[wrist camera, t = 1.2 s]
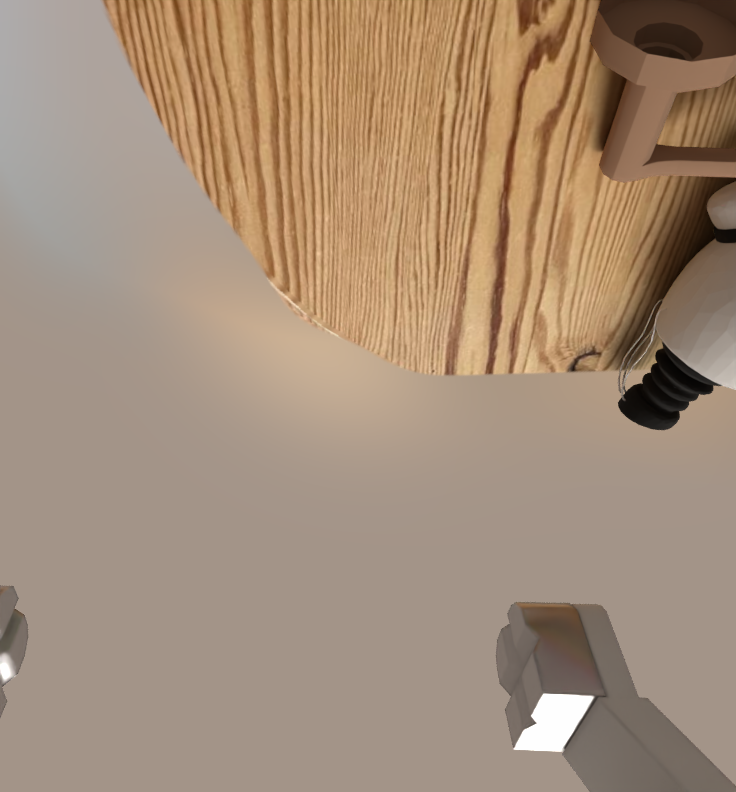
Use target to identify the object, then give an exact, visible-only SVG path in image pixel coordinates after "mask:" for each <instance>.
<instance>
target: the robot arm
mask: <svg viewBox="0 0 736 792" xmlns="http://www.w3.org/2000/svg"><path fill="white" fill-rule="evenodd" d="M17 601H18V596H17V594H16V591H15V589H14V586H0V717H1V715H2V712H3V710H4V707H5V705H6V703H7V699H6V697H5V694H4V691H3V688H2V687H3V686H4V685H5V684H6V683H7V682H9V681H10V680H11V679H12V678H13V677H14V676H15V675H17V674H18V672H19V669H20V667H21V664H22V661H23V659H24V656H25V651H26V645H27V640H28V625H27V621H26V619H25V615H24V614H22V613H21V612H19V611H18V610H16V609H15V606H16V603H17ZM508 619H509V623H510V624H508V625H507V626H505V627H504V628H502V629H501V631H500V634H499V637H498V640H497V649H496V662H497V671H498V677H499V682H500V684H501V686H502V687H503V688H504V689H505V690H506V691H507V692H508V693H509V695H510V696H511V698H510V700H509V702H508V704H507V707H506V709H505V711H506V716H507V721H508V725H509V731H510V735H511V740H512V745H513V749H515V750H541V751H564V752H563V756H564V757H565V759H566V760H567V761H568V762H569V764H570V765H571V767H572V768H573V770H574V771H575V772H576V774H577V775H578V776H579V778H580V779H581V780H582V782H583V783H584V785H585V786H586V787H587V789H588V790H589V791H590V792H736V786H735V785H734V784H733V783H732V782H731V781H730V780H729V779H728V778H727V777H726V776H725V775H724V774H723V773H722V772H721V771H720V770H719V769H718V768H717V767H716V766H715V765H714V764H713V763H712V762H711V761H710V760H709V759H708V758H707V757H706V756H705V755H704V754H703V753H702V752H701V751H700V750H699V749H698V748H697V747H696V746H695V745H694V744H693V743H692V742H691V741H690V740H689V739H688V738H687V737H686V736H685V735H684V734H683V733H682V732H681V731H680V730H679V729H678V728H677V727H676V726H675V725H674V724H673V723H672V722H671V721H670V720H669V719H668V718H667V717H666V716H665V715H664V714H663V713H662V712H661V711H660V710H659V709H658V708H657V707H656V706H655V705H654V704H653V703H652V702H651V701H650V700H649V699H648V698H639V697H638V694H637V691H636V689H635V687H634V683H633V681H632V678H631V676H630V673H629V670H628V667H627V665H626V662H625V659H624V657H623V654H622V652H621V649H620V646H619V643H618V641H617V638H616V635H615V633H614V630H613V627H612V625H611V622H610V620H609V617H608V614H607V611H606V610H605V609H604V608H603V607H602V606H601V605H597V604H570V603H535V602H531V603H530V602H516V603H514V604H512V605H511V607H510V609H509V612H508Z"/></svg>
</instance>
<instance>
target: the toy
mask: <svg viewBox="0 0 736 792" xmlns="http://www.w3.org/2000/svg"><path fill="white" fill-rule="evenodd" d="M707 211H708V214H709V216H710V218H711V221H712V223H713V224H714V225H715V227H714V235H715V239H714V240H713V241H711V242H710V243H709V244H708V245H706V246H705V247H704V248H703V249H702V250H701V251H700V252H699V253H697V254H696V256H695V257H694V258H693V259H692V260H691V261H690V262H689V263H688V264H687V265H686V267H685V268H684V269H683V271H682V272H681V273H680V274H679V276H678V277H677V278H676V280H675V281H674V283H673V284H672V286H671V288H670V289H669V291H668V293H667V294H666V296H665V298H664V299H663V300H659V301H658V302H657V304H658V303H659V302H660V301H662V304H661V306H660V308H659V310H658V312H657V314H656V317H655V323H654V326H653V328H652V330H651V331H650V333H649V334H648V335H647V336H646V338H645V339H644V340H643V341H642V342H641V343H640V344H639V346H638V347H637V348H636V350H635V351H634V353H633V354H632V356H631V358H630V360H629V362H628V364H627V366H626V369H625V372H624V375H623V383H622V384H623V385H622V389H621V390H620V373H621V370H622V367H623V364H624V362H625V359H626V357H627V355H628V354H629V352H630V351H631V349H632V348H633V347H634V346H635V345H636V343H637V342H638V341H639V340H640V338H641V337H642V336H643V334H644V333H645V330H646V328H647V326H648V323H649V321H650V319H651V317H652V314H653V312H654V310H655V307H656V306H657V304H656V305H655V306H654V308H653V310H652V312H651V315H650V317H649V319H648V322H647V324H646V326H645V328H644V330H643V332H642V334H641V336H640V337H639V339H638V340H637V341H636V342H635V343H634V345H633V346H632V347H631V348H630V350H629V351H628V352H627V354H626V355H625V357H624V359H623V362H622V365H621V368H620V372H619V378H618V386H619V391H620V393H621V396H622V398H621V399H620V400H619V402H618V406H619V408H620V410H621V412H622V413H623V414H624V415H625V416H626V417H627V418H629V419H630V420H632V421H633V422H636V423H637V424H639V425H641V426H644V427H647V428H650V429H656V430H666V429H669V428H671V427H672V426H674V425H675V424H676V423H677V421H678V420H679V418H680V414H679V411H682V410H685V409H686V408H687V407H688V405H689V401H694V400H696V399H697V398H698V396H699V394H702V395H705V394H710V393H712V391H713V385H714V386H715V385H716V386H725V387H728V388H732V389H735V390H736V181H735V182H733V183H730V184H728V185H726V186H724V187H722V188H721V189H720V190H718V191H717V192H715V193H714V194H713V195H712V196H711V197H710V199H709V200H708V203H707ZM655 328H656V331H657V333H658V335H659V337H660V338H661V340H662V344H663V347H664V348H663V349H660V350H658V351H657V352H656V355H655V356H656V361H657V363H655V364H653V365H652V367H651V373H647V374H645V375H644V377H643V380H642V382H643V384H637V385H633V386H632V387H631V388H630V389H628V391H626V390H625V386H624V384H625V381H626V379H627V377H628V375H629V373H630V372H631V370H632V368H633V367H634V366H635V364H636V363H637V362H638V361H639V360H640V359H641V358H642V357H643V355H644V354H645V353H646V352H647V350H648V348H649V346H650V345H651V343H652V341H653V336H654V332H655ZM652 331H653V332H652ZM651 333H652V337H651V341H650V343H649V345H648V346H647V348H646V350H645V352H644V353H643V354H642V355H641V356H640V357H639V359H638V360H637V361H636V362H635V363H634V364H633V365H632V367H631V369H630V370H629V372H628V374H627V375H626V377H625V374H626V370H627V368H628V365H629V364H630V362H631V360H632V358H633V356H634V354H635V352H636V351H637V350H638V348H639V347H640V346H641V345H642V344H643V343H644V342H645V341H646V340H647V339H648V337H649V336H650V334H651ZM624 378H625V379H624ZM623 389H624V391H625V394H624V395H623Z"/></svg>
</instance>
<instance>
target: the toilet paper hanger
mask: <svg viewBox="0 0 736 792" xmlns="http://www.w3.org/2000/svg"><path fill="white" fill-rule="evenodd" d="M590 42H591V44H592V45H593V47H594V49H595V51H596V53H597V54H598V56H599V58H600V60H601V61H602V63H603V65H604V66H606V67H608V68H609V69H611V70H613V71H614V72H616V73H618V74H619V75H621V76H623V77H624V78H626V79H627V82H626V85H625V88H624V91H623V94H622V97H621V100H620V103H619V106H618V109H617V112H616V115H615V118H614V121H613V124H612V127H611V130H610V133H609V136H608V139H607V142H606V145H605V148H604V151H603V154H602V157H601V160H600V164H599V166H600V168H601V170H602V172H603V174H604V175H606V176H607V177H609V178H610V179H612V180H615V181H620V182H630V181H636V180H640V179H644V178H648V177H653V176H668V175H678V176H706V177H734V178H736V149H729V148H699V147H674V146H665V145H658V144H656V143H657V141H658V138H659V136H660V134H661V131H662V129H663V126H664V124H665V121H666V119H667V117H668V114H669V112H670V109H671V107H672V105H673V102H674V100H675V97H676V95H677V93H680V92H687V91H694V90H700V89H707V88H714V87H720V86H721V85H722V84H724V83H725V82H727V81H728V80H729V79H731V78H732V77H734V76H735V75H736V0H601V3H600V6H599V9H598V12H597V16H596V20H595V24H594V27H593V31H592V35H591V39H590Z"/></svg>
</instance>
